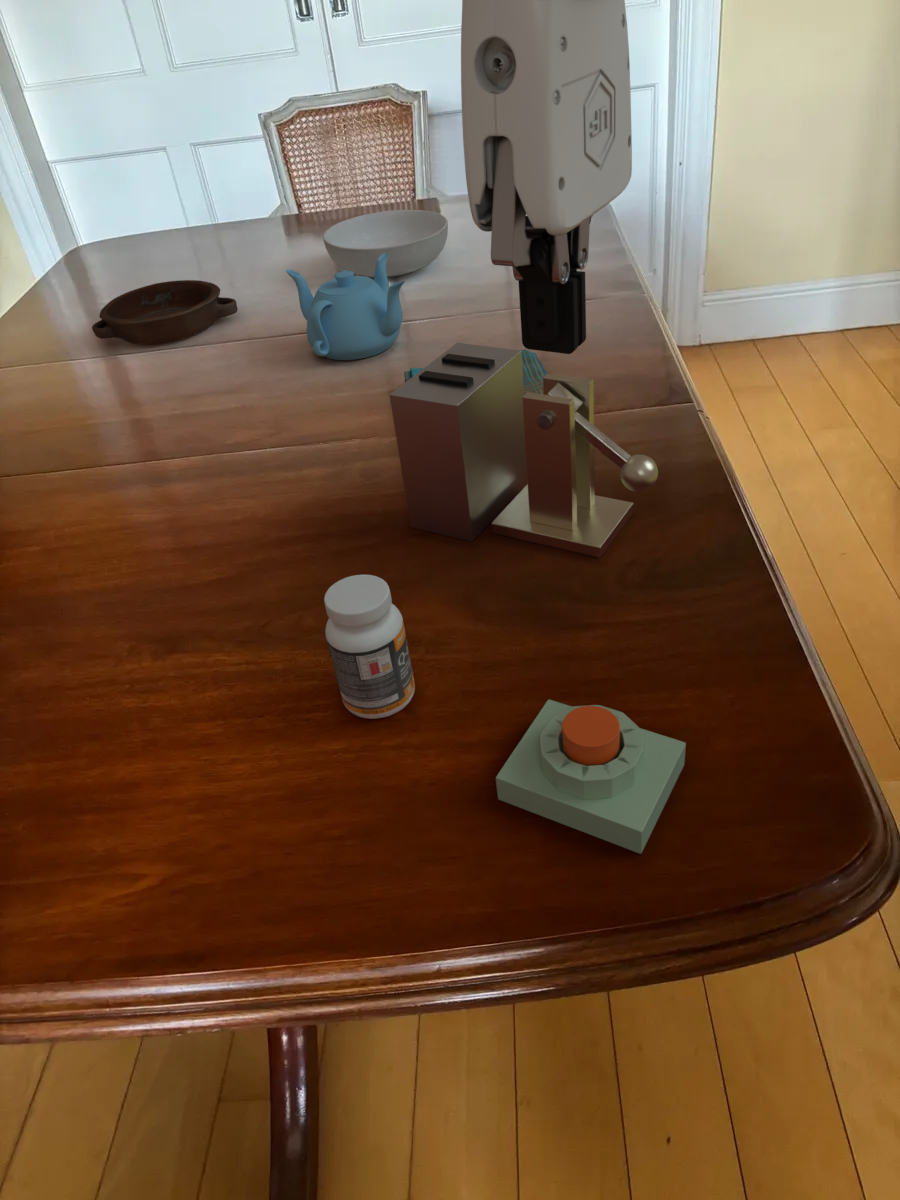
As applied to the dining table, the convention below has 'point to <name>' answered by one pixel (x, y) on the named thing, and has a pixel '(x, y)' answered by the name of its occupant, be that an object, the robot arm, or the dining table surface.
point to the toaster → (461, 439)
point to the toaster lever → (613, 449)
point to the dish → (163, 312)
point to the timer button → (591, 735)
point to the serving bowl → (387, 241)
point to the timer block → (593, 779)
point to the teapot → (351, 313)
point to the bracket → (561, 477)
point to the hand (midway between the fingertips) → (554, 345)
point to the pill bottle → (368, 647)
